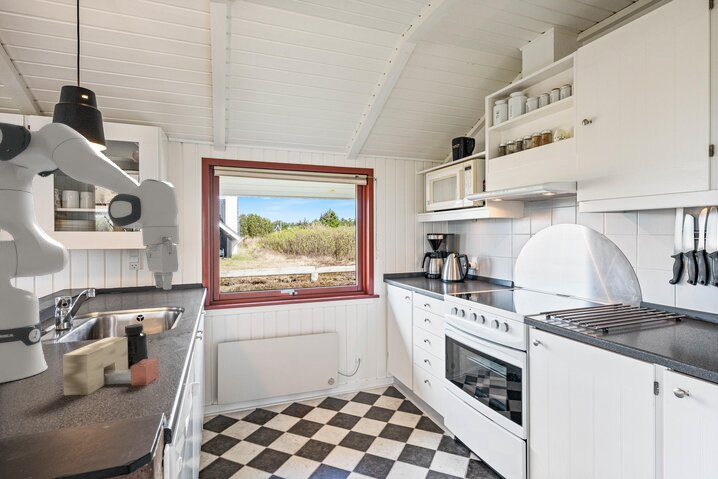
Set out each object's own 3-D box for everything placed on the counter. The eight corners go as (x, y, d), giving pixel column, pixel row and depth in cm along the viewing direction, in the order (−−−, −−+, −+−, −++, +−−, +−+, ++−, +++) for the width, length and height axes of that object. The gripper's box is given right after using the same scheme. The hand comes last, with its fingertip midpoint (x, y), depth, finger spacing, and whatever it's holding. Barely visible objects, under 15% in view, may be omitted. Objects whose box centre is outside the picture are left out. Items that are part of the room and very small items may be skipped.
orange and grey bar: (158, 376, 101) (158, 358, 101) (146, 385, 95) (145, 366, 95) (108, 378, 101) (107, 360, 101) (92, 386, 95) (92, 367, 95)
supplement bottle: (131, 360, 116) (130, 323, 116) (152, 360, 115) (151, 322, 115) (116, 368, 109) (115, 328, 109) (139, 368, 109) (138, 328, 108)
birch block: (63, 395, 90) (62, 355, 90) (107, 371, 106) (106, 337, 106) (88, 394, 90) (87, 354, 90) (128, 371, 106) (127, 336, 106)
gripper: (183, 235, 94) (185, 289, 94) (165, 239, 110) (167, 285, 109) (156, 236, 90) (158, 292, 90) (141, 240, 106) (143, 287, 105)
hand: (163, 288), depth 100 cm, fingers open, 8 cm apart
